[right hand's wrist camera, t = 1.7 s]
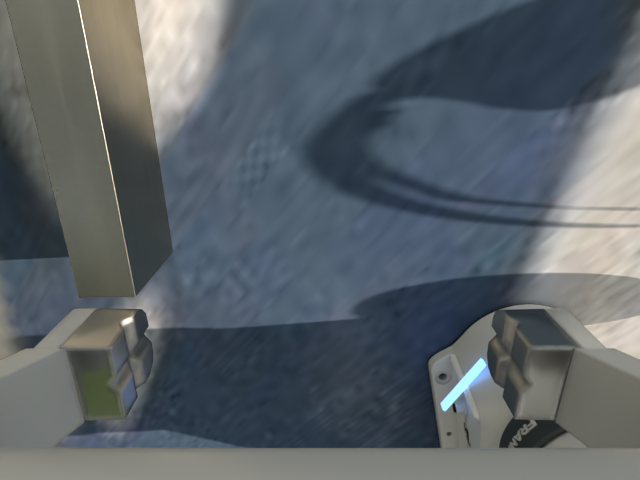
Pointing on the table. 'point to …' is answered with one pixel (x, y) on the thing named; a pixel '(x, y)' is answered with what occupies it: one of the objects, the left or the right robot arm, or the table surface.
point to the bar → (96, 138)
